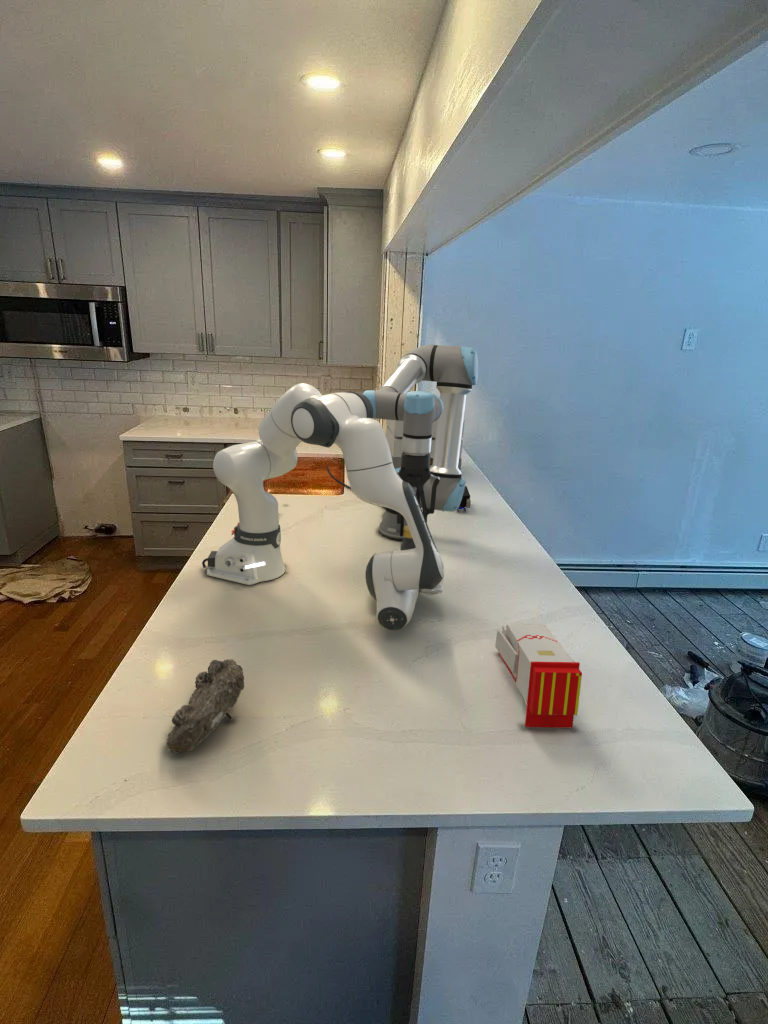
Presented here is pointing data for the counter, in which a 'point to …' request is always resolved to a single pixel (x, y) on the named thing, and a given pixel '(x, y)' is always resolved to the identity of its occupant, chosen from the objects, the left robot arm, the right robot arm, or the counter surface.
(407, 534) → the cap
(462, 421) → the right robot arm
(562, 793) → the counter surface
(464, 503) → the figurine character
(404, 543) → the bottle
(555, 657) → the toy
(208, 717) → the fossil
